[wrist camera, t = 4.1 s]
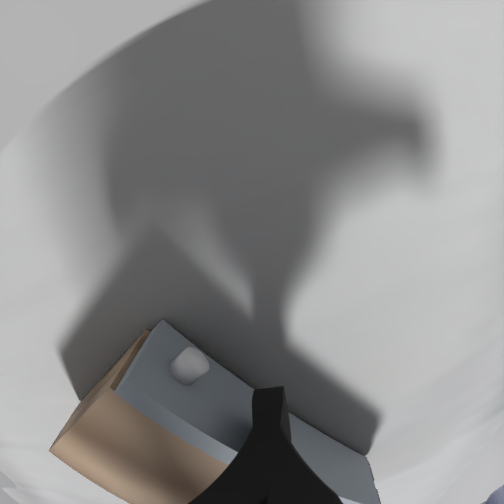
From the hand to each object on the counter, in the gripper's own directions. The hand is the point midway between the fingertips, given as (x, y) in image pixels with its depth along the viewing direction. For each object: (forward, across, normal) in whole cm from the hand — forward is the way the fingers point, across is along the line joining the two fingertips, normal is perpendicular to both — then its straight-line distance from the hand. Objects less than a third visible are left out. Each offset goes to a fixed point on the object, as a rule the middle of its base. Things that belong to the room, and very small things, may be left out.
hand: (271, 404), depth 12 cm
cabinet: (+2, +4, +6) cm, 8 cm away
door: (+2, -1, +3) cm, 4 cm away
